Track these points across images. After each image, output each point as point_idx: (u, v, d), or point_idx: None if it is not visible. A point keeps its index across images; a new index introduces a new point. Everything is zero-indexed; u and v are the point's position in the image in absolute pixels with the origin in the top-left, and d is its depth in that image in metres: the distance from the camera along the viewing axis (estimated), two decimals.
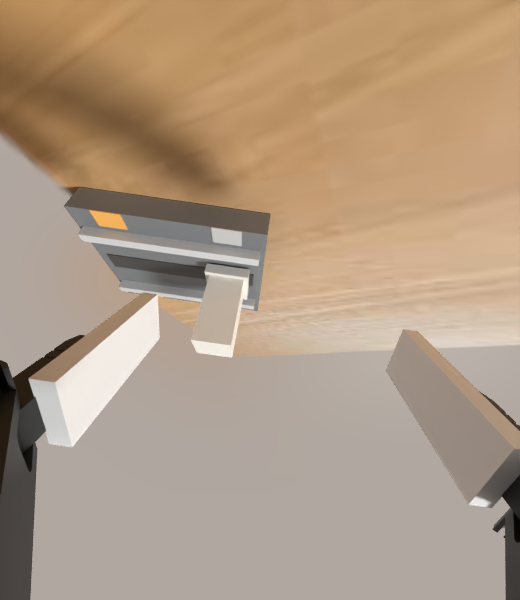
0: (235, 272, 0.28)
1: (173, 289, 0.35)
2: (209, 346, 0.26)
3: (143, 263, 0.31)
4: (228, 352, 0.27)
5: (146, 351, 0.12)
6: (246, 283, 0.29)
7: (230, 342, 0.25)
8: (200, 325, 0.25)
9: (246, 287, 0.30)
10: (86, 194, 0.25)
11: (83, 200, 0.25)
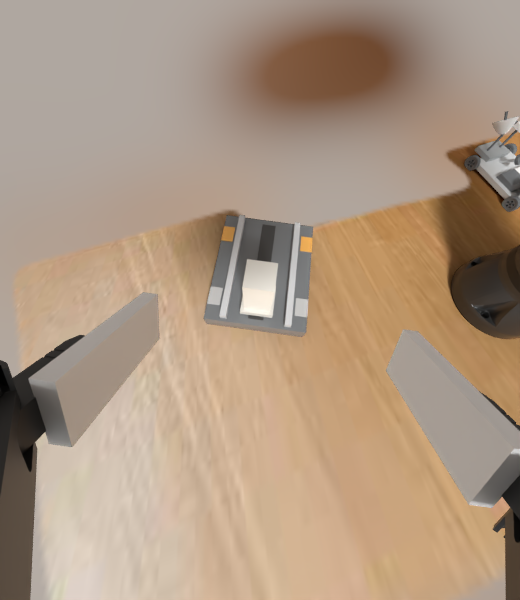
0: (273, 307, 0.38)
1: (238, 253, 0.42)
2: (266, 273, 0.31)
3: (267, 244, 0.44)
4: (255, 286, 0.30)
5: (146, 351, 0.12)
6: (265, 313, 0.37)
7: (274, 292, 0.30)
8: None
9: (259, 312, 0.37)
10: None
11: None
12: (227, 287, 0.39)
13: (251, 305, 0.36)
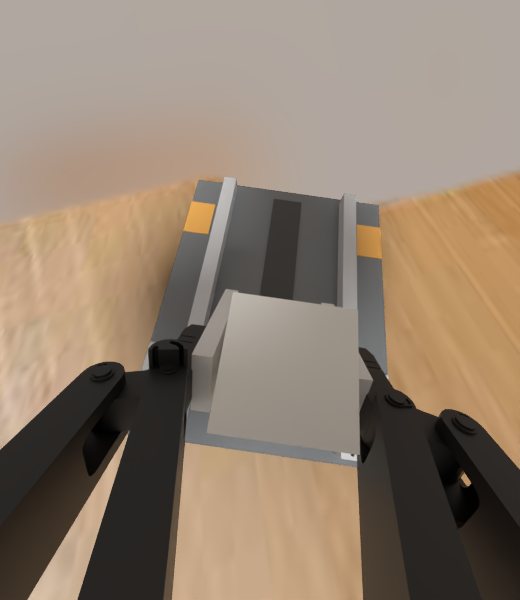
0: None
1: (220, 261, 0.19)
2: (314, 356, 0.07)
3: (285, 241, 0.20)
4: (267, 425, 0.07)
5: None
6: None
7: None
8: None
9: None
10: None
11: None
12: None
13: None
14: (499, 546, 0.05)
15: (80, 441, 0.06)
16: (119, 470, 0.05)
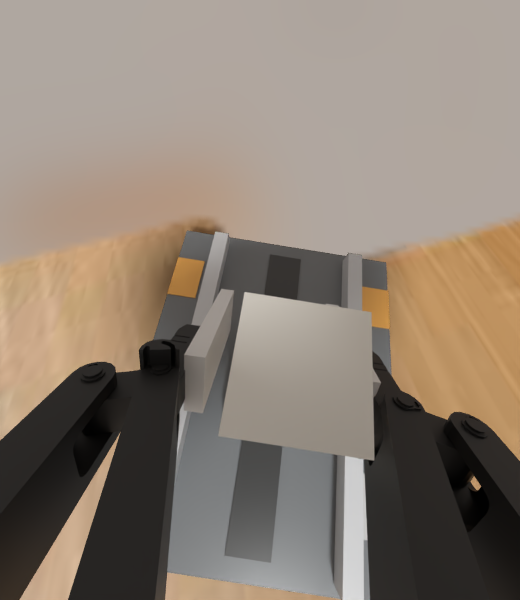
0: None
1: None
2: (327, 359, 0.07)
3: None
4: (279, 429, 0.06)
5: (226, 340, 0.14)
6: None
7: None
8: None
9: None
10: None
11: None
12: None
13: None
14: (509, 550, 0.05)
15: (71, 442, 0.06)
16: (110, 472, 0.05)
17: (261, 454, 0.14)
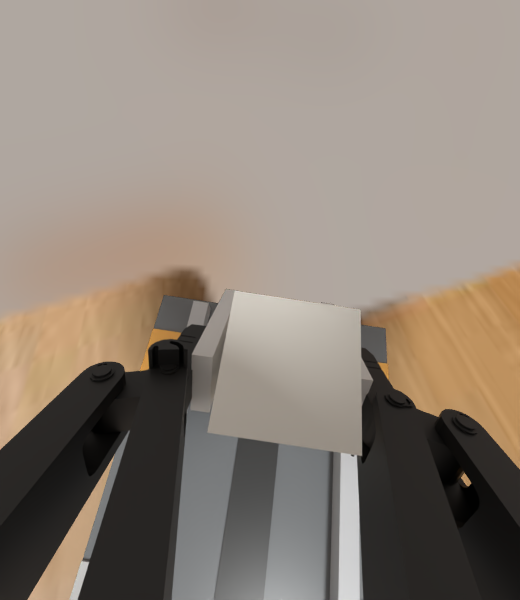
0: None
1: None
2: (316, 356, 0.07)
3: None
4: (268, 425, 0.06)
5: None
6: None
7: None
8: None
9: None
10: None
11: None
12: None
13: None
14: (499, 546, 0.05)
15: (80, 441, 0.06)
16: (119, 470, 0.05)
17: (242, 580, 0.12)
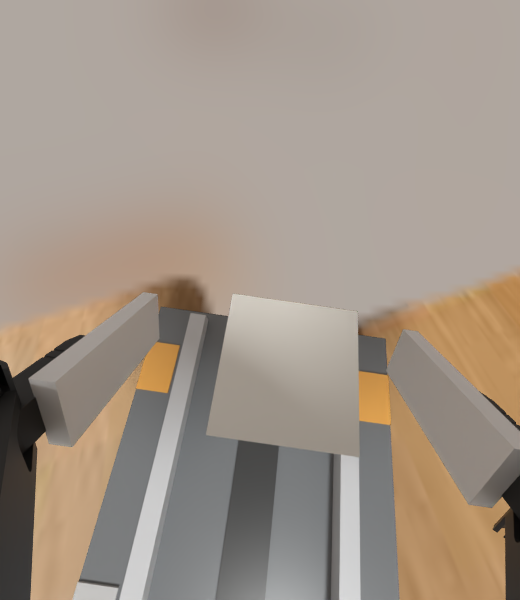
0: None
1: (180, 441, 0.14)
2: (314, 358, 0.07)
3: None
4: (266, 427, 0.06)
5: (146, 351, 0.12)
6: None
7: None
8: None
9: None
10: None
11: None
12: None
13: None
14: None
15: None
16: None
17: None
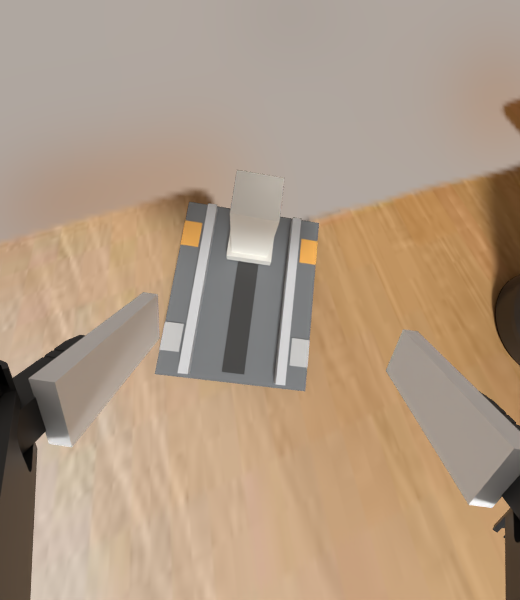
0: None
1: (207, 267, 0.28)
2: (266, 192, 0.20)
3: None
4: (249, 212, 0.20)
5: (146, 351, 0.12)
6: (260, 259, 0.27)
7: (278, 222, 0.20)
8: None
9: (252, 257, 0.27)
10: None
11: None
12: (189, 326, 0.26)
13: (242, 246, 0.26)
14: None
15: None
16: None
17: (239, 329, 0.27)
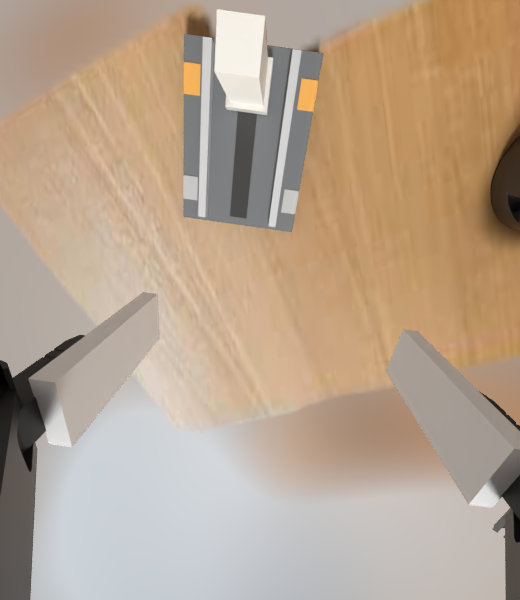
0: (268, 97, 0.29)
1: (210, 120, 0.31)
2: (247, 40, 0.21)
3: None
4: (231, 68, 0.22)
5: (146, 351, 0.12)
6: (257, 109, 0.29)
7: (259, 77, 0.22)
8: (265, 36, 0.22)
9: (249, 108, 0.29)
10: None
11: None
12: (202, 179, 0.33)
13: (237, 97, 0.27)
14: None
15: None
16: None
17: (241, 181, 0.34)
